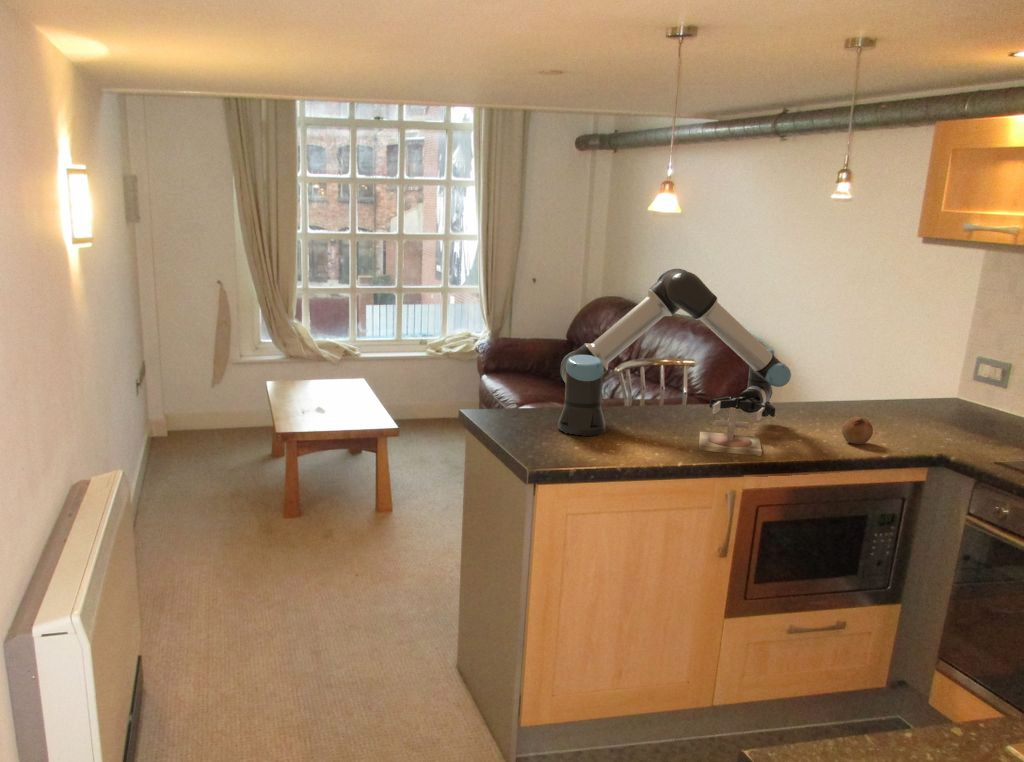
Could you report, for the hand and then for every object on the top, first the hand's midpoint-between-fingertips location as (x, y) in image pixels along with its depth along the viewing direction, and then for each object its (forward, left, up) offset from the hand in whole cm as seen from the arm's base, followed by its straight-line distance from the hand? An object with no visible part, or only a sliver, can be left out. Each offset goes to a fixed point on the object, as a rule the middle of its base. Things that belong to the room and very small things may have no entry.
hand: (735, 412), depth 248 cm
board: (-1, -2, -10) cm, 10 cm away
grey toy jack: (-1, -2, -8) cm, 9 cm away
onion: (+38, +15, -10) cm, 42 cm away
